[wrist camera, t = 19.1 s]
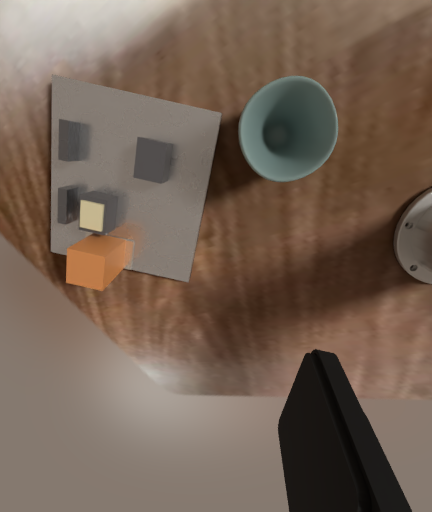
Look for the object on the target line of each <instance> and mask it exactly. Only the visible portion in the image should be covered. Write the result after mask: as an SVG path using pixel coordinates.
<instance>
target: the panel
mask: <svg viewBox="0 0 432 512" xmlns="http://www.w3.org/2000/svg"><path fill="white" fill-rule="evenodd" d="M221 120H222V113H219V112H214V111H210V110H206V109H201V108H197V107H193V106H188V105H184V104H179V103H175V102H171V101H166V100H162V99H157V98H153V97H149V96H144V95H140V94H136V93H131V92H127V91H122V90H118V89H114V88H109V87H105V86H100V85H96V84H92V83H87V82H83V81H78V80H74V79H70V78H65V77H61V76H57V75H52V145H51V252H54V253H58V254H63V255H67V248H69V247H70V246H72V245H74V244H76V243H77V242H79V241H81V240H82V239H84V238H86V237H87V236H89V235H91V234H92V233H91V232H87V231H82V230H79V207H80V194H83V193H87V192H90V191H97V192H101V193H106V194H110V195H115V196H118V204H117V215H116V226H115V229H114V230H112V231H111V232H109V233H108V234H106V235H107V236H111V237H116V238H120V239H125V240H126V245H125V254H124V264H123V268H124V269H129V270H135V271H139V272H144V273H148V274H153V275H157V276H162V277H166V278H171V279H175V280H180V281H184V282H189V279H190V276H191V271H192V266H193V261H194V256H195V251H196V246H197V241H198V236H199V231H200V226H201V221H202V216H203V211H204V206H205V201H206V196H207V190H208V185H209V180H210V175H211V170H212V165H213V160H214V155H215V150H216V145H217V140H218V135H219V130H220V125H221ZM137 137H144V138H150V139H154V140H158V141H163V142H167V143H172V144H173V150H172V157H171V164H170V170H169V177H168V181H167V182H165V183H162V184H160V183H155V182H151V181H146V180H142V179H137V178H133V175H134V165H135V156H136V146H137Z"/></svg>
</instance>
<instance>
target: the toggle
mask: <svg viewBox="0 0 432 512" xmlns="http://www.w3.org/2000/svg"><path fill="white" fill-rule="evenodd" d="M172 150H173V144H172V143H167V142H163V141H158V140H154V139H150V138H144V137H137V146H136V156H135V165H134V175H133V178H137V179H142V180H146V181H151V182H155V183H160V184H162V183H165V182H167V181H168V177H169V170H170V164H171V157H172Z"/></svg>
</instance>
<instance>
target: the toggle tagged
mask: <svg viewBox="0 0 432 512" xmlns="http://www.w3.org/2000/svg"><path fill="white" fill-rule="evenodd" d="M117 204H118V196H115V195H110V194H106V193H101V192H97V191H90V192H87V193H83V194H80V207H79V230H82V231H87V232H91V233H96V234H100V235H106V234H108V233H109V232H111V231H112V230H114V229H115V226H116V215H117Z"/></svg>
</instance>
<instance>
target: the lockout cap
mask: <svg viewBox="0 0 432 512" xmlns="http://www.w3.org/2000/svg"><path fill="white" fill-rule="evenodd" d="M125 245H126V240H125V239H120V238H116V237H111V236H107V235H100V234H96V233H92V234H91V235H89V236H87V237H86V238H84V239H82V240H81V241H79V242H77V243H76V244H74V245H72V246H70V247H69V248H67V268H66V283H70V284H74V285H79V286H83V287H88V288H92V289H97V290H101V291H103V290H104V289H105V288H106V286H107V285H108V284H109V283H110V282H111V281H112V280H113V279H114V278H115V277H116V276H117V275H118V274H119V273H120V272H121V271H122V270H123V264H124V254H125Z"/></svg>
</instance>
